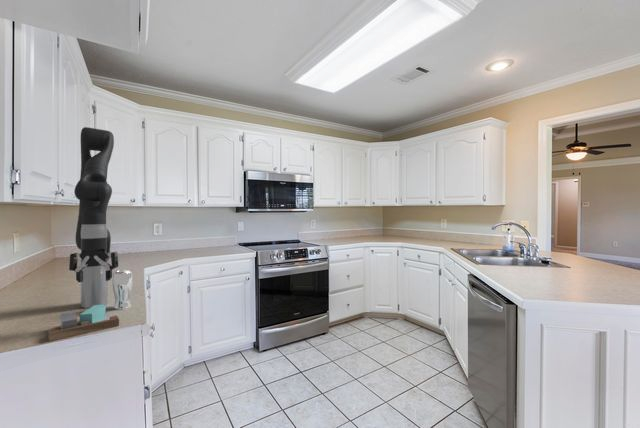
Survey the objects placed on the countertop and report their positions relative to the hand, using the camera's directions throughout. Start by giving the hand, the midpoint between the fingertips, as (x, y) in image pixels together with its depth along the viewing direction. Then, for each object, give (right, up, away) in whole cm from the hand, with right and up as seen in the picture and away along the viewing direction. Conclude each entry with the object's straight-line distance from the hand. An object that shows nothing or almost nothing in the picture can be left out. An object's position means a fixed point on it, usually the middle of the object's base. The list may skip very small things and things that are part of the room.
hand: (94, 281), depth 104 cm
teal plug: (0, -15, 0) cm, 15 cm away
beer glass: (-1, -15, +16) cm, 22 cm away
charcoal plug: (-3, -15, -7) cm, 17 cm away
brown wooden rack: (+3, -15, -7) cm, 17 cm away
